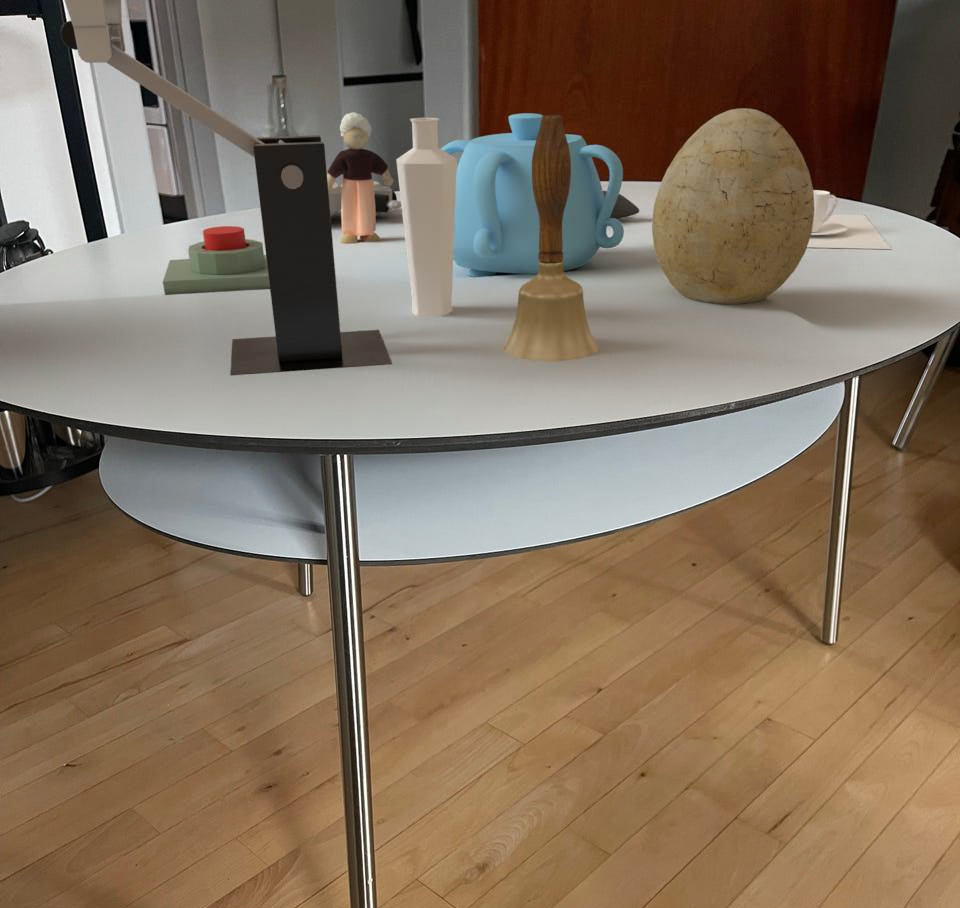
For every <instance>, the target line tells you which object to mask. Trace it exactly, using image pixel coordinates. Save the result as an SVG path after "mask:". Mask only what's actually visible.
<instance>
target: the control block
mask: <svg viewBox="0 0 960 908" xmlns="http://www.w3.org/2000/svg"><path fill="white" fill-rule="evenodd" d="M245 240H246V248H242V249H236V250H227V251H212V250H205V243H204V241H200V242H197V243H194V244H191V245H189V246H188V251H187V253H188V258H186V259H185V258H184V259H183V258H181V259H180V258H179V259H169V262H168V263H167V267H166V270H165V273H164V276H163V279H162V287H163V293H164V296H172V295H173V296H174V295H190V294H208V293H223V292H224V293H225V292H239V291H241V292H242V291H259V290H270V284H269V275H268V267H267V259H266V254H265V253H264V245H263V242H262V241H258V240H255V239H250V238H245Z"/></svg>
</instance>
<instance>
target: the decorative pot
mask: <svg viewBox="0 0 960 908" xmlns="http://www.w3.org/2000/svg"><path fill="white" fill-rule="evenodd" d="M542 116H544V115H543V114H541V113H530V112H529V113H526V112H525V113H514V114H511V115H509V116H508V123H509V125H510V130H511V132H506V133H505V132H504V133H495V134H488V135H483V136H479V137H475V138H472V139H470V140H465V139H456V140H453V141H451V142H448V143H446V144H445V145H444V146H442V148H440V149H441V150H443V151H445V152H446V153H448V154H450V155H451V156H452V154H454V153H459V152H461V156H460V159H459V162H458V163H457V173H456V199H455V225H454V250H453V262H455V264H456V265H457V266H458V267H461V268H463V269H468V270H469V269H470V270H469V271H468V273H467V276H469V277H472V278H485V277H494V276H495V275H496V273H505V274H520V275H523V274H524V275H538V272H539V262H540V260H539V259H538V254H539V252H540V250H539V232H540V221H539V214H538V210H537V206H536V202H535V198H534V193H533V186H532V157H533V151H534V147H535V143H536V140H537V136H538V133H539V129H540V125H541V120H542ZM565 135H566V139H567V142H568V146H569V151H570V157H571V181H570V189H569V195H568V199H567V202H566V206H565V209H564V214H563V220H562V241H563V249H562V252H563V271H564V272H566V271H569V270H573V269H578V268H581V266H584V265H586V264H588V263H589V262H590V261H591V260H592V259H593V258H594V256H595V255H596V254H597V252H598V251H599V249H600V248H602V249H612V248H616V247H617V246H619V245H620V244H621V242H622V240H623V238H624V233H625V229H624V226H623V224H622V222H621V221H620V219H616V218H610V216H611V213H612V211H613V208H614V206H615V203H616V200H617V198H618V195H619V194H620V192H621V188H622V185H623V181H624V180H623V179H624V168H623V165H622V162H621V160H620V158H619V157H618V155H617V154H616V153H615V152H614V151H612V150H611V149H610V148H608V147H606V146H604V145H602V144H601V145H600V144H589V145H588V144H587V142H586V140H585V139H584V138H583V136H581V135H578V134H568V133H565ZM593 158H597V159H600V160H601V161H603V162H605V164H606V165H607V167H608V170H609V172H608V173H609V177H608V186H607V189H606V191H607V192H606V195H605V198H604V195H603V191H604V190H603V187H602V183H601V180H600V177H599V174H598V171H597V168H596V165H595V162H594V159H593ZM608 227H611V229H612V236H611V237H609V236H608V233H607V228H608Z"/></svg>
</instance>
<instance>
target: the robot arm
mask: <svg viewBox="0 0 960 908" xmlns="http://www.w3.org/2000/svg"><path fill="white" fill-rule="evenodd" d="M64 4H65V6H66V9H67V12H68V16H69V18H70V21H72V25H73V27H74V33H75V38H76V43H77V49H78V50H77V54H78V56H79V58H80V60H81V61H83V62H84V63H88V64H89V63H90V64H91V63H92V64H94V63H97V64H98V63H99V64H100V63H103V64H105V63H106V62H108V61H110V60H111V59H112V57H113V55H114V53H113V47H112V44H113V45H114V46H116V47H117V48H119V49H120V50H122V51H123V52H125V53H126V44H125V37H124V31H123V17H122V0H64Z"/></svg>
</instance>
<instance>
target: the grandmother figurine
mask: <svg viewBox="0 0 960 908" xmlns="http://www.w3.org/2000/svg"><path fill="white" fill-rule="evenodd" d="M339 130H340V137H342V138H343V142H344V143H345V146H347V149H343V150H341V151H339V152H338V154H337V155H336V157H335V158H334V159H333V161H332V163H331V165H330V166H329V168H328V169H327V181H328V193H329V192H331V191H332V189H333V184H334V183H336V180H337V179H338V178H339V177H340V176H342V182H341V184H342V196H341V210H340V219H341V232H342V234H343V235H342V236H341V238H340V240H339V243H340V244H343V245H345V244H346V245H347V244H349V245H350V244H356V243H359V240H360V241H362V242H366V243H367V242H368V243H369V242H379V241H380V240H381V239H380V237H379V235H378V234H377V233H376V229H377V228H376V227H377V225H376V224H377V222H376V220H377V218H376V210H375V195H374V183H373V181H374V178H373V176H372V174H375V175H379V177H381V179H382V181H383V184H384V185H385V187H390V186H392V185H394V178H393V177H392V176H391V172H390V171H389V168H388V167H389V165H388V164H387V163H386V161H385V160H384V159H383V158H382V157H381V156H380V155H379V154H377V153H375V152H374V151H372V150H369V149H366V148H365V147H366V146H367V144H368V141H369V138H370V136H371V134H372V130H373V128H372V126H371V124H370V122H369V120H368V119H367V117H364V116H363V115H362V114H360V113H357V112H356V111H353V112H350V113H346V114H345V115H343V117H342V119H341V123H340V125H339ZM358 237H359V239H358Z"/></svg>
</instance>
